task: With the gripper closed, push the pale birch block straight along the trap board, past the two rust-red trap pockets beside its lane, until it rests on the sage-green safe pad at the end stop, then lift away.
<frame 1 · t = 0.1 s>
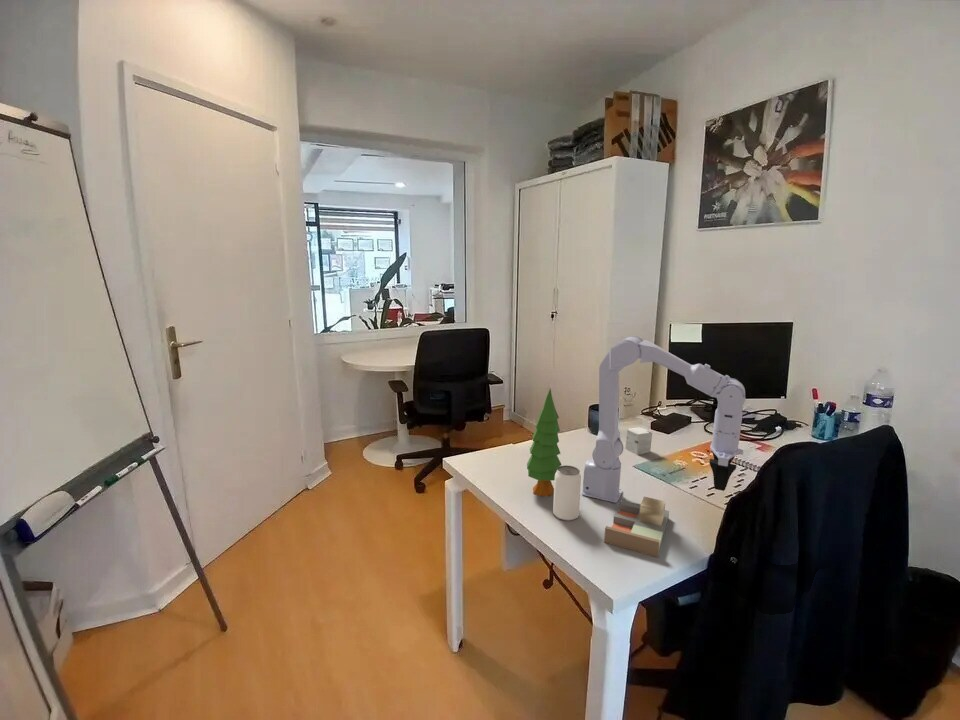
hand: (720, 483, 115), 10 cm above the table, tool pointing down, fingers open, 7 cm apart
can: (565, 515, 119), on the table
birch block: (651, 518, 113), point 2 cm above the table, touching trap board
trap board: (637, 529, 112), on the table
skincare box: (637, 451, 162), on the table
decorative tree: (541, 491, 131), on the table
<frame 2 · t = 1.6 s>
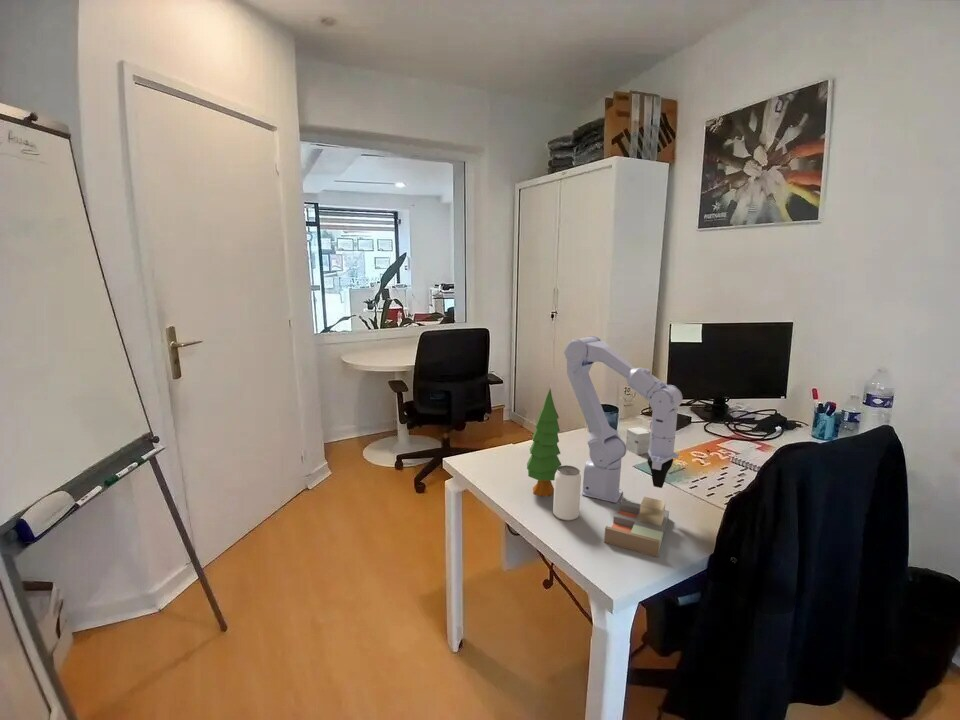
hand: (658, 486, 118), 7 cm above the table, tool pointing down, fingers closed
nothing on the table moved.
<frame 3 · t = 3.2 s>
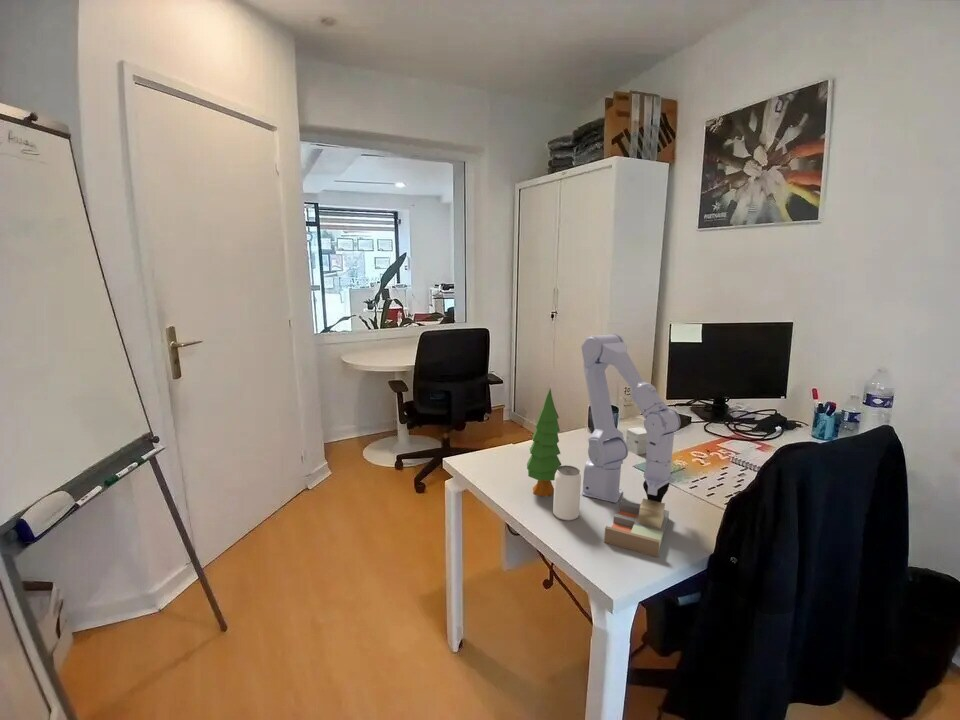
hand: (653, 510, 116), 3 cm above the table, tool pointing down, fingers closed
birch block: (651, 520, 112), point 2 cm above the table, touching gripper
everything else where it was.
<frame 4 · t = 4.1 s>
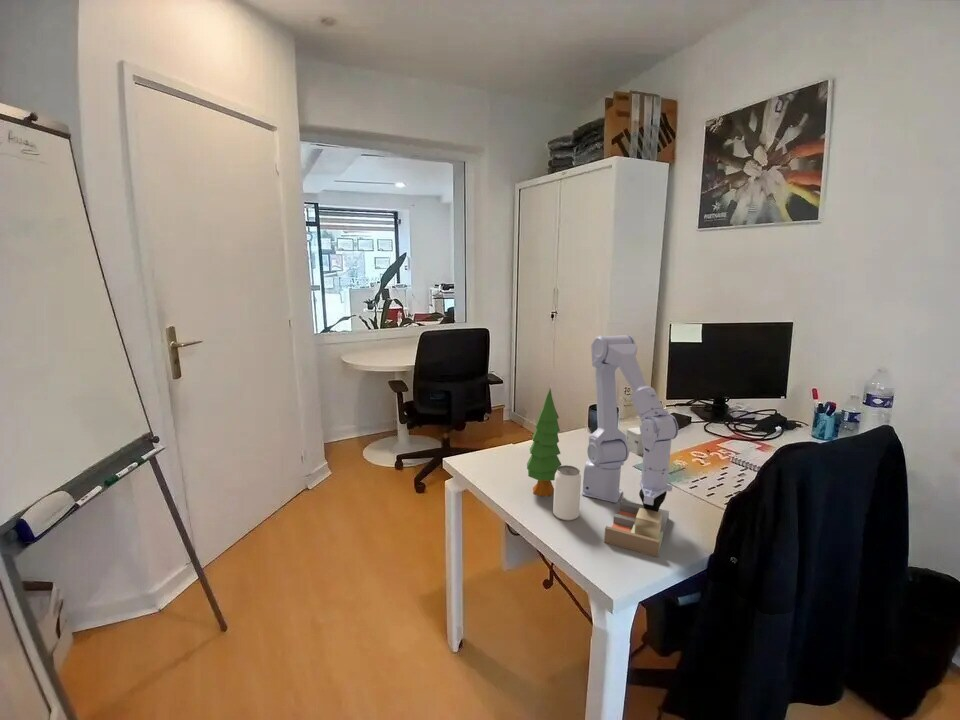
hand: (650, 519, 111), 3 cm above the table, tool pointing down, fingers closed
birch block: (647, 531, 108), point 2 cm above the table, touching gripper
everything else where it was.
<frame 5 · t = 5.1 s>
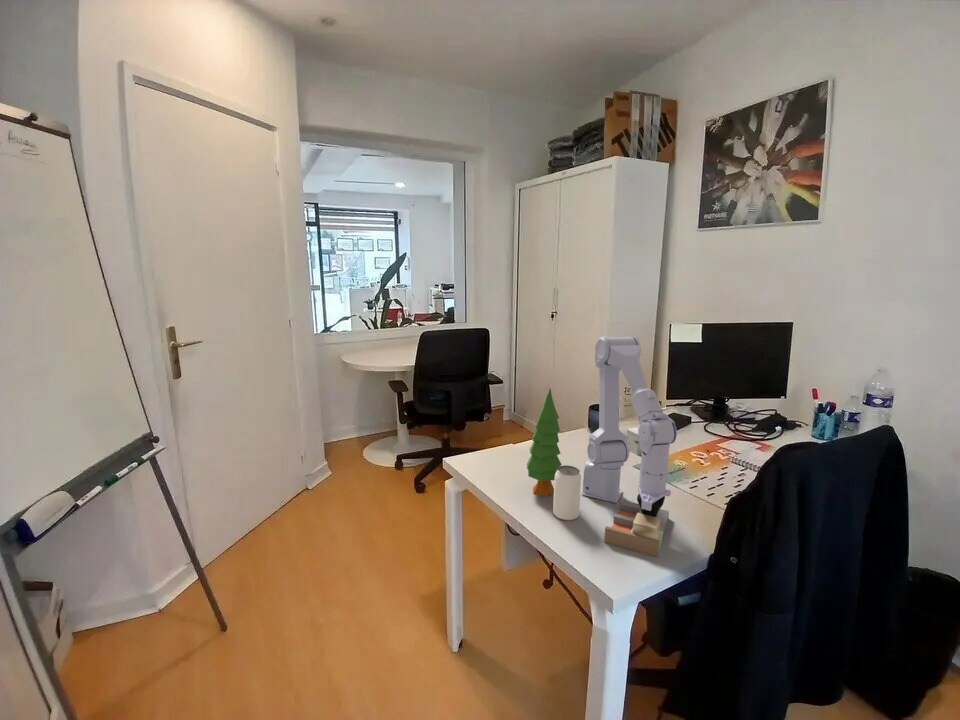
hand: (648, 525, 109), 3 cm above the table, tool pointing down, fingers closed
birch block: (645, 536, 106), point 2 cm above the table, touching gripper, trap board
everything else where it was.
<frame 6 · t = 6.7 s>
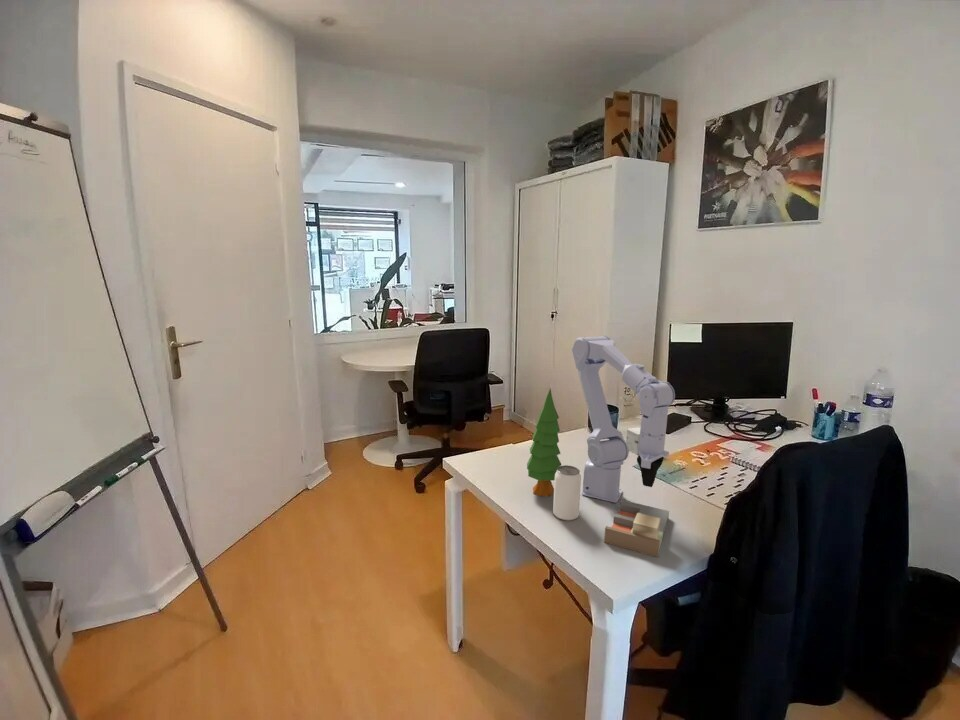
hand: (647, 485, 115), 9 cm above the table, tool pointing down, fingers closed
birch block: (645, 536, 106), point 2 cm above the table, touching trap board
everything else where it was.
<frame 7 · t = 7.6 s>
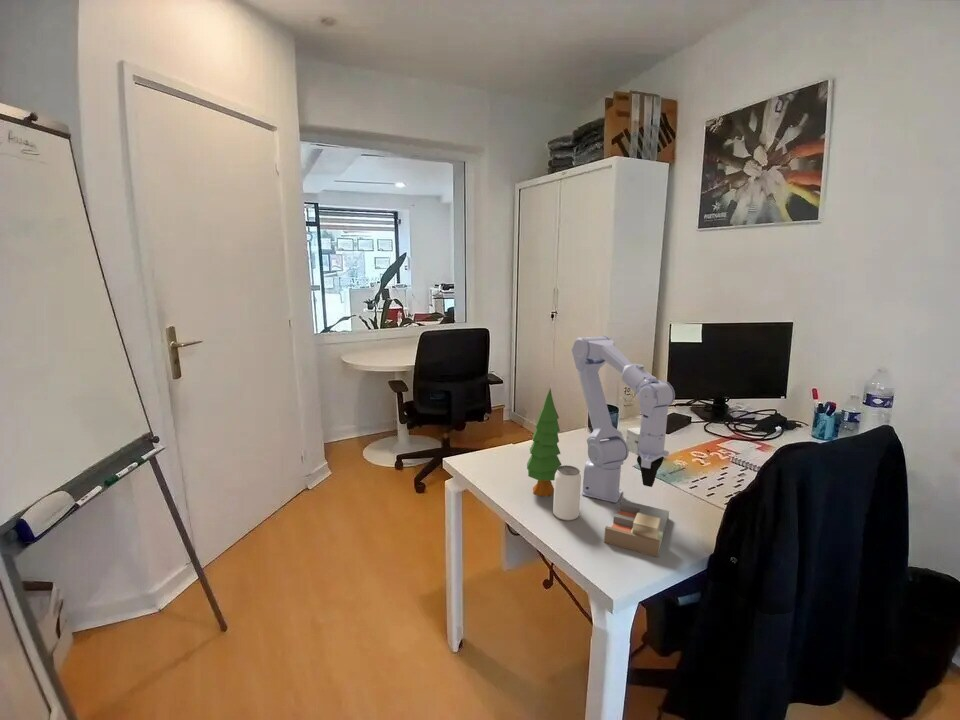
hand: (648, 485, 115), 9 cm above the table, tool pointing down, fingers closed
nothing on the table moved.
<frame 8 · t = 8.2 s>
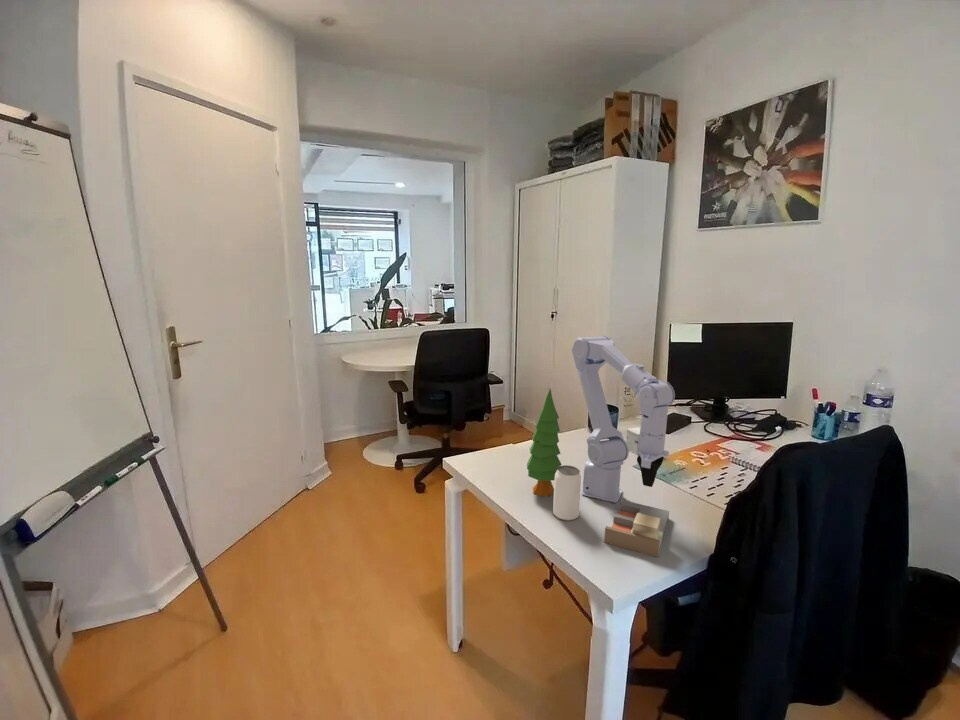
hand: (648, 485, 115), 9 cm above the table, tool pointing down, fingers closed
nothing on the table moved.
at the end: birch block 0.5 cm from the target spot, point 2.0 cm above the table; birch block tilted 0°; the gripper is holding nothing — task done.
